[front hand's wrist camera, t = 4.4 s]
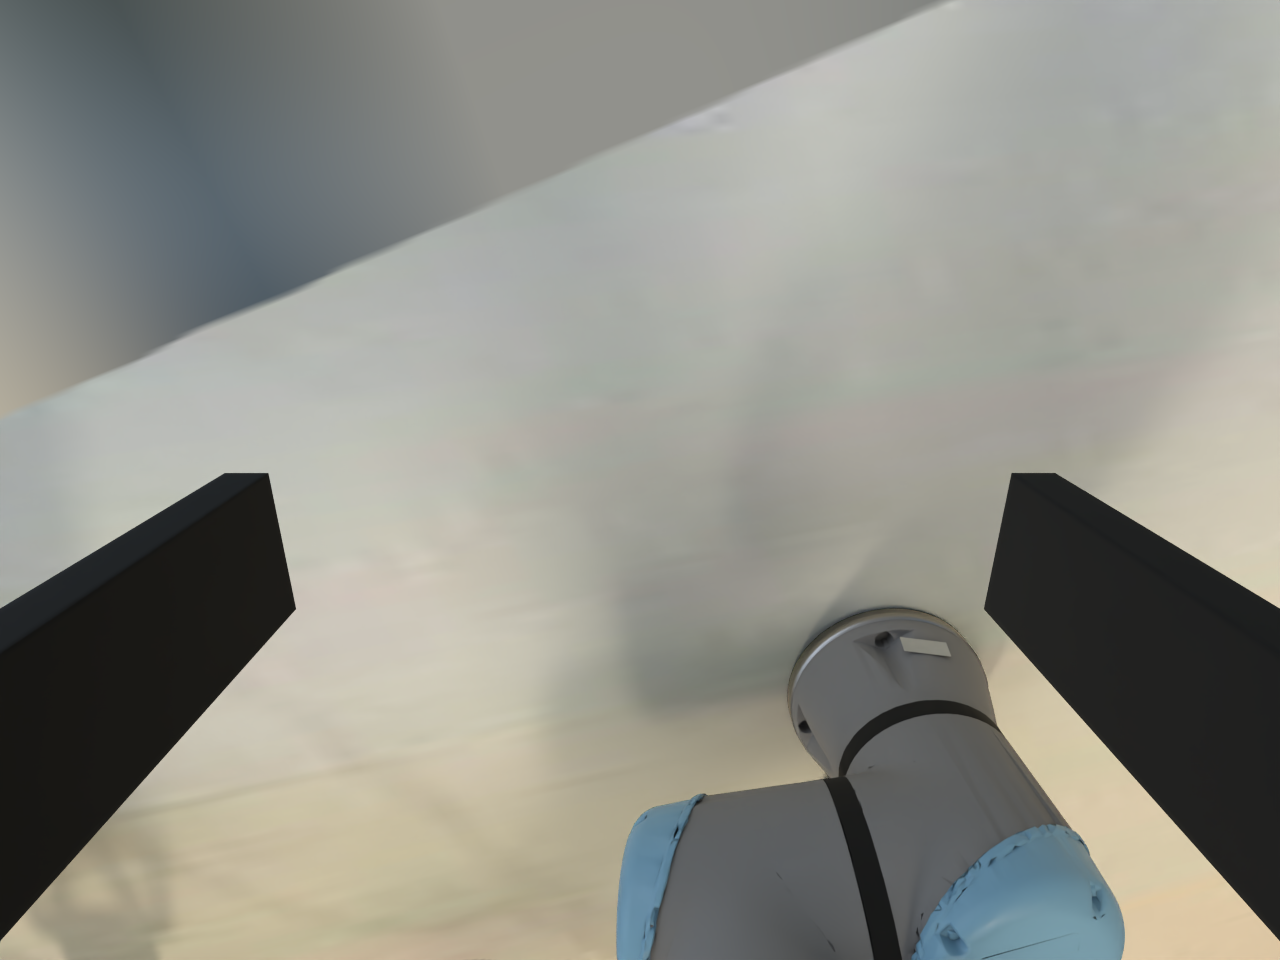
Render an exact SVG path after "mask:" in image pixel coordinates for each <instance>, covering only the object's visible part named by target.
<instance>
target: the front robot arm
mask: <svg viewBox="0 0 1280 960" xmlns="http://www.w3.org/2000/svg"><path fill="white" fill-rule="evenodd" d="M295 610H296V607H295V602H294V597H293V592H292V587H291V582H290V577H289V572H288V567H287V563H286V558H285V553H284V548H283V543H282V538H281V533H280V528H279V523H278V518H277V514H276V509H275V504H274V499H273V494H272V489H271V484H270V479H269V474H268V473H224V474H223V475H221V476H219V477H218V478H216V479H214V480H213V481H211V482H209V483H208V484H206V485H204V486H203V487H201V488H200V489H198V490H196V491H195V492H193V493H191V494H190V495H188V496H186V497H185V498H183V499H181V500H180V501H178V502H176V503H175V504H173V505H171V506H170V507H168V508H166V509H165V510H163V511H161V512H160V513H158V514H156V515H155V516H153V517H151V518H150V519H148V520H146V521H145V522H143V523H141V524H140V525H138V526H136V527H135V528H133V529H132V530H130V531H128V532H127V533H125V534H123V535H122V536H120V537H118V538H117V539H115V540H113V541H112V542H110V543H108V544H107V545H105V546H103V547H102V548H100V549H98V550H97V551H95V552H93V553H92V554H90V555H88V556H87V557H85V558H83V559H82V560H80V561H78V562H77V563H75V564H73V565H72V566H70V567H68V568H67V569H65V570H64V571H62V572H60V573H59V574H57V575H55V576H54V577H52V578H50V579H49V580H47V581H45V582H44V583H42V584H40V585H39V586H37V587H35V588H34V589H32V590H30V591H29V592H27V593H25V594H24V595H22V596H20V597H19V598H17V599H15V600H14V601H12V602H10V603H9V604H7V605H5V606H4V607H2V608H0V941H1V939H2V938H3V937H4V936H5V935H6V934H7V933H8V932H9V930H10V929H11V928H12V927H13V926H14V925H15V924H16V923H17V921H18V920H19V919H20V918H21V917H22V916H23V915H24V914H25V913H26V911H27V910H28V909H29V908H30V907H31V906H32V905H33V904H34V902H35V901H36V900H37V899H38V898H39V897H40V896H41V895H42V893H43V892H44V891H45V890H46V889H47V888H48V887H49V886H50V884H51V883H52V882H53V881H54V880H55V879H56V878H57V877H58V875H59V874H60V873H61V872H62V871H63V870H64V869H65V868H66V866H67V865H68V864H69V863H70V862H71V861H72V860H73V859H74V858H75V856H76V855H77V854H78V853H79V852H80V851H81V850H82V849H83V847H84V846H85V845H86V844H87V843H88V842H89V841H90V840H91V838H92V837H93V836H94V835H95V834H96V833H97V832H98V831H99V829H100V828H101V827H102V826H103V825H104V824H105V823H106V822H107V820H108V819H109V818H110V817H111V816H112V815H113V814H114V813H115V812H116V810H117V809H118V808H119V807H120V806H121V805H122V804H123V803H124V801H125V800H126V799H127V798H128V797H129V796H130V795H131V794H132V792H133V791H134V790H135V789H136V788H137V787H138V786H139V785H140V783H141V782H142V781H143V780H144V779H145V778H146V777H147V776H148V774H149V773H150V772H151V771H152V770H153V769H154V768H155V767H156V765H157V764H158V763H159V762H160V761H161V760H162V759H163V758H164V757H165V755H166V754H167V753H168V752H169V751H170V750H171V749H172V748H173V746H174V745H175V744H176V743H177V742H178V741H179V740H180V739H181V737H182V736H183V735H184V734H185V733H186V732H187V731H188V730H189V728H190V727H191V726H192V725H193V724H194V723H195V722H196V721H197V719H198V718H199V717H200V716H201V715H202V714H203V713H204V712H205V711H206V709H207V708H208V707H209V706H210V705H211V704H212V703H213V702H214V700H215V699H216V698H217V697H218V696H219V695H220V694H221V693H222V691H223V690H224V689H225V688H226V687H227V686H228V685H229V684H230V682H231V681H232V680H233V679H234V678H235V677H236V676H237V675H238V673H239V672H240V671H241V670H242V669H243V668H244V667H245V666H246V664H247V663H248V662H249V661H250V660H251V659H252V658H253V657H254V656H255V654H256V653H257V652H258V651H259V650H260V649H261V648H262V647H263V645H264V644H265V643H266V642H267V641H268V640H269V639H270V638H271V636H272V635H273V634H274V633H275V632H276V631H277V630H278V629H279V627H280V626H281V625H282V624H283V623H284V622H285V621H286V620H287V618H288V617H289V616H290V615H291V614H292V613H293V612H294V611H295ZM984 610H985V611H986V612H987V613H988V614H989V615H990V616H991V617H992V618H993V620H994V621H995V622H996V623H997V624H998V625H999V626H1000V627H1001V629H1002V630H1003V631H1004V632H1005V633H1006V634H1007V635H1008V636H1009V638H1010V639H1011V640H1012V641H1013V642H1014V643H1015V644H1016V645H1017V647H1018V648H1019V649H1020V650H1021V651H1022V652H1023V653H1024V654H1025V656H1026V657H1027V658H1028V659H1029V660H1030V661H1031V662H1032V663H1033V664H1034V666H1035V667H1036V668H1037V669H1038V670H1039V671H1040V672H1041V673H1042V675H1043V676H1044V677H1045V678H1046V679H1047V680H1048V681H1049V682H1050V684H1051V685H1052V686H1053V687H1054V688H1055V689H1056V690H1057V691H1058V693H1059V694H1060V695H1061V696H1062V697H1063V698H1064V699H1065V700H1066V702H1067V703H1068V704H1069V705H1070V706H1071V707H1072V708H1073V709H1074V711H1075V712H1076V713H1077V714H1078V715H1079V716H1080V717H1081V718H1082V719H1083V721H1084V722H1085V723H1086V724H1087V725H1088V726H1089V727H1090V728H1091V730H1092V731H1093V732H1094V733H1095V734H1096V735H1097V736H1098V737H1099V739H1100V740H1101V741H1102V742H1103V743H1104V744H1105V745H1106V746H1107V748H1108V749H1109V750H1110V751H1111V752H1112V753H1113V754H1114V755H1115V757H1116V758H1117V759H1118V760H1119V761H1120V762H1121V763H1122V764H1123V765H1124V767H1125V768H1126V769H1127V770H1128V771H1129V772H1130V773H1131V774H1132V776H1133V777H1134V778H1135V779H1136V780H1137V781H1138V782H1139V783H1140V785H1141V786H1142V787H1143V788H1144V789H1145V790H1146V791H1147V792H1148V794H1149V795H1150V796H1151V797H1152V798H1153V799H1154V800H1155V801H1156V803H1157V804H1158V805H1159V806H1160V807H1161V808H1162V809H1163V810H1164V812H1165V813H1166V814H1167V815H1168V816H1169V817H1170V818H1171V819H1172V820H1173V822H1174V823H1175V824H1176V825H1177V826H1178V827H1179V828H1180V829H1181V831H1182V832H1183V833H1184V834H1185V835H1186V836H1187V837H1188V838H1189V840H1190V841H1191V842H1192V843H1193V844H1194V845H1195V846H1196V847H1197V849H1198V850H1199V851H1200V852H1201V853H1202V854H1203V855H1204V856H1205V858H1206V859H1207V860H1208V861H1209V862H1210V863H1211V864H1212V865H1213V866H1214V868H1215V869H1216V870H1217V871H1218V872H1219V873H1220V874H1221V875H1222V877H1223V878H1224V879H1225V880H1226V881H1227V882H1228V883H1229V884H1230V886H1231V887H1232V888H1233V889H1234V890H1235V891H1236V892H1237V893H1238V895H1239V896H1240V897H1241V898H1242V899H1243V900H1244V901H1245V902H1246V904H1247V905H1248V906H1249V907H1250V908H1251V909H1252V910H1253V911H1254V913H1255V914H1256V915H1257V916H1258V917H1259V918H1260V919H1261V920H1262V921H1263V923H1264V924H1265V925H1266V926H1267V927H1268V928H1269V929H1270V930H1271V932H1272V933H1273V934H1274V935H1275V936H1276V937H1277V938H1278V939H1279V941H1280V608H1278V607H1276V606H1275V605H1273V604H1271V603H1270V602H1268V601H1266V600H1265V599H1263V598H1261V597H1260V596H1258V595H1256V594H1255V593H1253V592H1251V591H1250V590H1248V589H1246V588H1245V587H1243V586H1241V585H1240V584H1238V583H1236V582H1235V581H1233V580H1231V579H1230V578H1228V577H1226V576H1225V575H1223V574H1221V573H1220V572H1218V571H1216V570H1215V569H1213V568H1212V567H1210V566H1208V565H1207V564H1205V563H1203V562H1202V561H1200V560H1198V559H1197V558H1195V557H1193V556H1192V555H1190V554H1188V553H1187V552H1185V551H1183V550H1182V549H1180V548H1178V547H1177V546H1175V545H1173V544H1172V543H1170V542H1168V541H1167V540H1165V539H1163V538H1162V537H1160V536H1158V535H1157V534H1155V533H1153V532H1152V531H1150V530H1148V529H1147V528H1145V527H1144V526H1142V525H1140V524H1139V523H1137V522H1135V521H1134V520H1132V519H1130V518H1129V517H1127V516H1125V515H1124V514H1122V513H1120V512H1119V511H1117V510H1115V509H1114V508H1112V507H1110V506H1109V505H1107V504H1105V503H1104V502H1102V501H1100V500H1099V499H1097V498H1095V497H1094V496H1092V495H1090V494H1089V493H1087V492H1085V491H1084V490H1082V489H1080V488H1079V487H1077V486H1076V485H1074V484H1072V483H1071V482H1069V481H1067V480H1066V479H1064V478H1062V477H1061V476H1059V475H1057V474H1056V473H1012V474H1011V479H1010V484H1009V489H1008V494H1007V499H1006V504H1005V509H1004V514H1003V518H1002V523H1001V528H1000V533H999V538H998V543H997V548H996V553H995V558H994V563H993V567H992V572H991V577H990V582H989V587H988V592H987V597H986V602H985V607H984ZM788 708H789V712H790V716H791V719H792V722H793V726H794V728H795V731H796V734H797V736H798V737H799V739H800V741H801V742H802V744H803V746H804V747H805V749H806V750H807V752H808V753H809V754H810V755H811V757H812V758H813V759H814V760H815V761H816V762H817V763H818V765H819V766H820V767H821V768H822V769H823V770H824V771H825V773H826V774H827V775H828V776H829V777H830V778H829V779H820V780H814V781H808V782H801V783H794V784H787V785H780V786H773V787H766V788H759V789H751V790H744V791H737V792H730V793H723V794H716V795H709V796H708V795H706V794H698V795H696V796H694V797H693V798H692V799H691V800H686V801H681V802H676V803H671V804H666V805H661V806H657V807H653V808H651V809H649V810H647V811H646V812H644V813H643V814H642V815H641V816H640V817H639V818H638V820H637V821H636V822H635V824H634V826H633V828H632V831H631V833H630V834H629V837H628V840H627V843H626V847H625V851H624V855H623V861H622V867H621V874H620V882H619V892H618V906H617V960H1121V958H1122V954H1123V949H1124V942H1125V929H1124V921H1123V917H1122V913H1121V910H1120V907H1119V904H1118V902H1117V900H1116V898H1115V896H1114V895H1113V893H1112V891H1111V889H1110V888H1109V886H1108V885H1107V883H1106V881H1105V880H1104V878H1103V877H1102V875H1101V873H1100V872H1099V870H1098V868H1097V867H1096V865H1095V864H1094V862H1093V860H1092V859H1091V857H1090V854H1089V850H1088V848H1087V846H1086V844H1084V841H1083V840H1082V838H1081V837H1080V836H1079V835H1078V834H1077V833H1076V832H1075V831H1073V830H1072V829H1071V828H1070V826H1069V825H1068V823H1067V822H1066V821H1065V819H1064V818H1063V817H1062V815H1061V814H1060V812H1059V811H1058V810H1057V808H1056V807H1055V805H1054V804H1053V803H1052V801H1051V800H1050V799H1049V797H1048V796H1047V794H1046V793H1045V792H1044V790H1043V789H1042V787H1041V786H1040V785H1039V783H1038V782H1037V781H1036V779H1035V778H1034V776H1033V775H1032V774H1031V772H1030V771H1029V770H1028V768H1027V767H1026V765H1025V764H1024V763H1023V761H1022V760H1021V758H1020V757H1019V756H1018V754H1017V753H1016V752H1015V750H1014V749H1013V747H1012V746H1011V745H1010V743H1009V742H1008V741H1007V739H1006V738H1005V737H1004V735H1003V734H1002V732H1001V731H1000V730H999V728H998V727H997V723H996V719H995V714H994V709H993V705H992V701H991V697H990V693H989V689H988V682H987V678H986V675H985V672H984V669H983V667H982V665H981V662H980V660H979V659H978V657H977V655H976V653H975V652H974V651H973V649H972V648H971V647H970V645H969V644H968V643H967V642H966V640H965V639H964V638H963V637H962V636H961V634H960V633H959V632H958V631H957V630H955V629H954V628H953V627H952V626H950V625H949V624H947V623H946V622H944V621H943V620H941V619H939V618H937V617H934V616H932V615H930V614H927V613H923V612H920V611H915V610H909V609H880V610H873V611H868V612H864V613H861V614H857V615H854V616H852V617H849V618H847V619H844V620H842V621H840V622H838V623H837V624H835V625H833V626H832V627H830V628H828V629H827V630H825V631H824V632H823V633H821V634H820V635H819V636H818V637H817V638H816V639H814V640H813V641H812V642H811V643H810V645H809V646H808V647H807V648H806V649H805V650H804V652H803V653H802V654H801V656H800V657H799V659H798V661H797V662H796V664H795V666H794V669H793V671H792V674H791V677H790V680H789V685H788Z"/></svg>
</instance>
